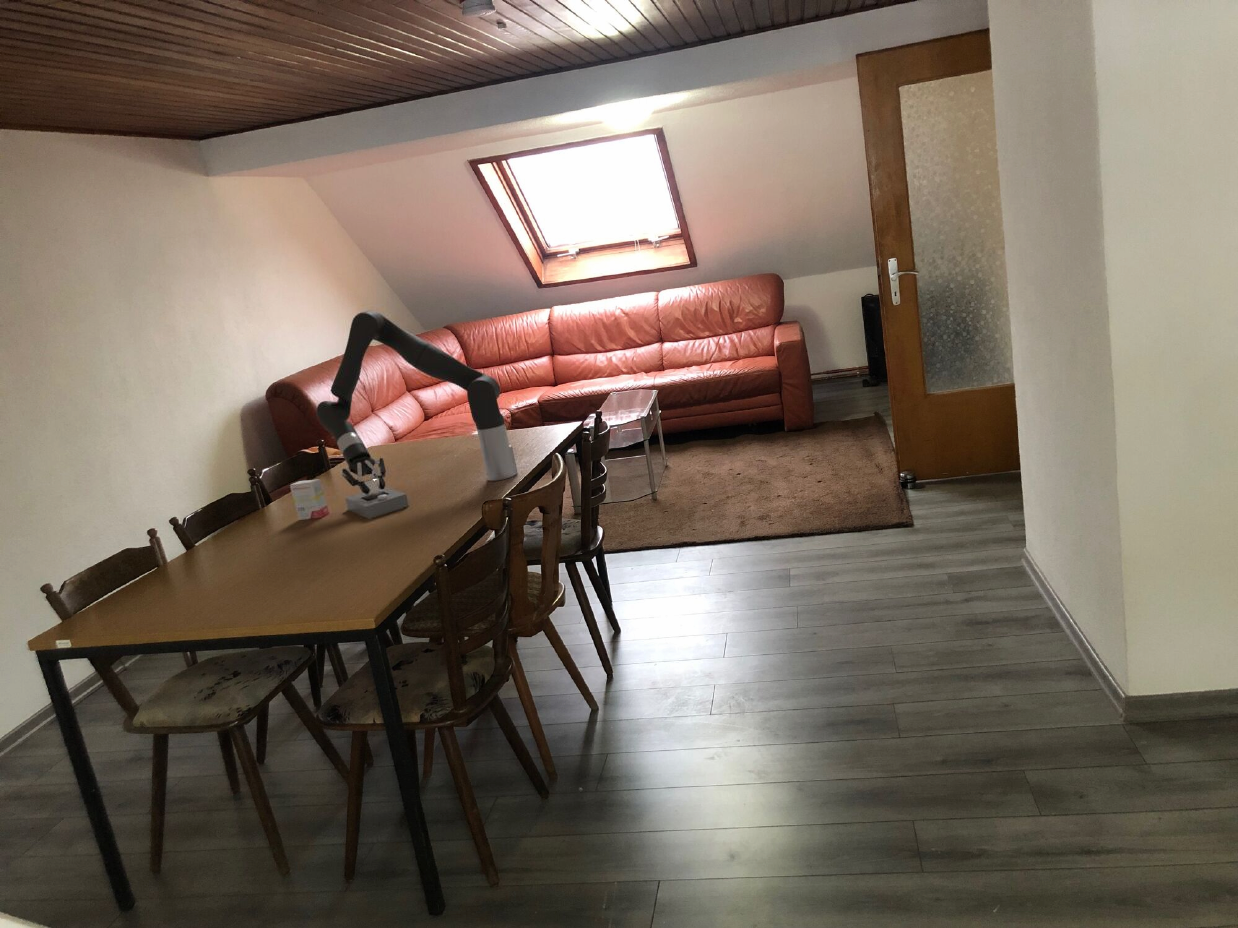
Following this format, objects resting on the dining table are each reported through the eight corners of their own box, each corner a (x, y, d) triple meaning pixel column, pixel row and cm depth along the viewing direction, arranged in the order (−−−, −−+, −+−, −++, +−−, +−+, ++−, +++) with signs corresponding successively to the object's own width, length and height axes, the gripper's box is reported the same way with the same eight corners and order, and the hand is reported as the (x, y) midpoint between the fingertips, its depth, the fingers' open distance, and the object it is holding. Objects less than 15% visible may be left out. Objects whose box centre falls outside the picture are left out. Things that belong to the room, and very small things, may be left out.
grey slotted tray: (385, 497, 312) (382, 483, 311) (408, 506, 296) (405, 490, 295) (347, 509, 306) (344, 495, 304) (369, 519, 289) (365, 503, 288)
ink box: (330, 513, 306) (320, 478, 303) (321, 518, 301) (312, 482, 298) (307, 515, 308) (298, 480, 306) (298, 520, 304) (289, 485, 301)
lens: (381, 498, 304) (375, 476, 302) (387, 501, 300) (381, 478, 298) (365, 503, 301) (360, 481, 299) (371, 506, 297) (365, 483, 295)
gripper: (332, 448, 298) (354, 489, 291) (375, 436, 306) (397, 476, 299) (331, 463, 304) (352, 503, 297) (373, 450, 311) (395, 490, 304)
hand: (375, 489), depth 298 cm, fingers closed on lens, 5 cm apart
